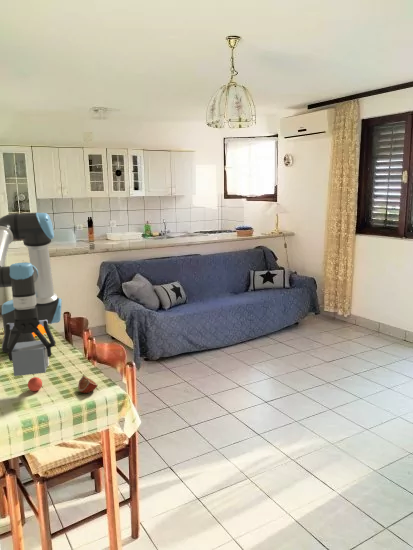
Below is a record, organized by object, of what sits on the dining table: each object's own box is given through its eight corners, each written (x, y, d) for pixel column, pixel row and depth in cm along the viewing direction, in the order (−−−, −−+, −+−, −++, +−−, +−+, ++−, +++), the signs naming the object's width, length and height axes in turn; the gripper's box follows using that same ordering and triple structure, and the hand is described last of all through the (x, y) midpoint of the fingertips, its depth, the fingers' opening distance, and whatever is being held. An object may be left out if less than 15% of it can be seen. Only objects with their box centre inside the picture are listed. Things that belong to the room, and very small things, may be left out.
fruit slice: (75, 389, 165) (74, 376, 164) (93, 385, 169) (92, 372, 168) (82, 398, 158) (81, 384, 157) (101, 393, 162) (99, 380, 161)
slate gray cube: (19, 365, 165) (16, 342, 164) (48, 362, 167) (46, 339, 166) (14, 376, 155) (11, 351, 154) (45, 372, 158) (42, 348, 156)
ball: (26, 387, 161) (28, 394, 164) (40, 385, 162) (42, 392, 166) (27, 375, 164) (29, 383, 168) (41, 373, 166) (43, 381, 169)
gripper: (-13, 312, 151) (-5, 374, 155) (58, 306, 156) (64, 367, 160) (-8, 307, 158) (-1, 367, 162) (60, 302, 163) (65, 360, 167)
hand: (31, 367), depth 161 cm, fingers closed on slate gray cube, 10 cm apart
